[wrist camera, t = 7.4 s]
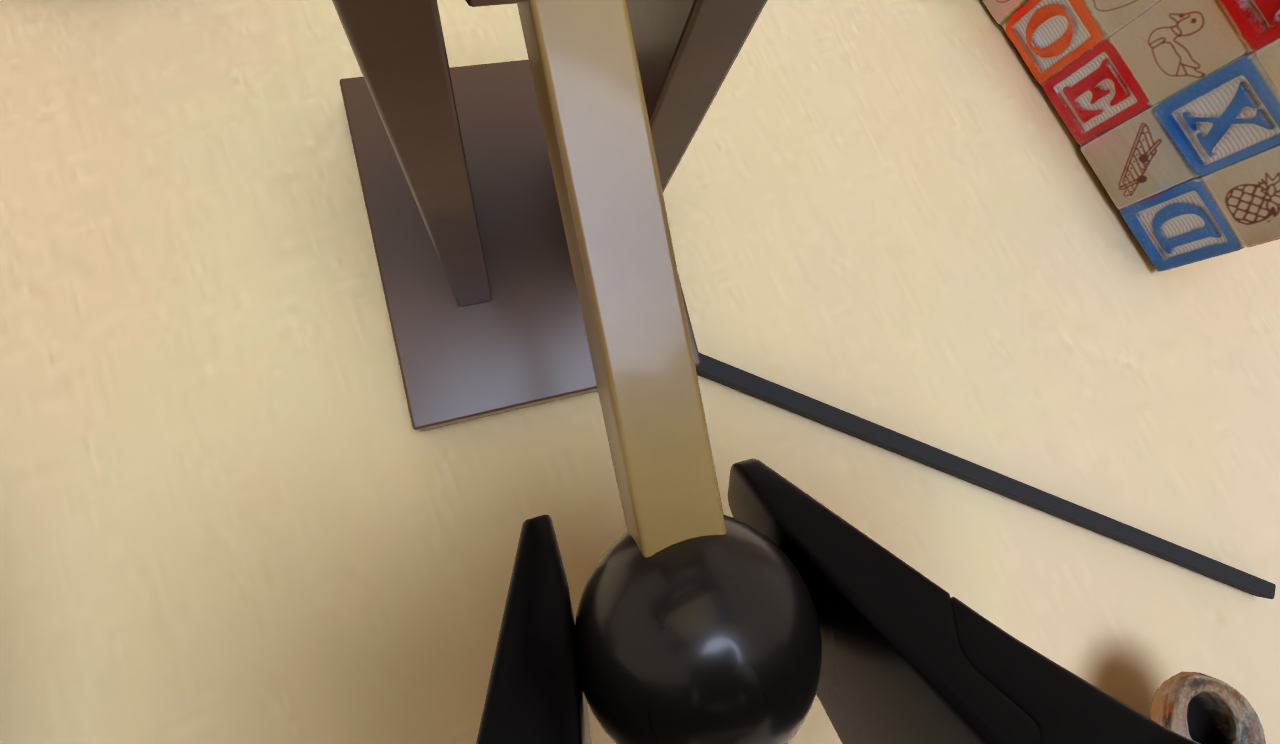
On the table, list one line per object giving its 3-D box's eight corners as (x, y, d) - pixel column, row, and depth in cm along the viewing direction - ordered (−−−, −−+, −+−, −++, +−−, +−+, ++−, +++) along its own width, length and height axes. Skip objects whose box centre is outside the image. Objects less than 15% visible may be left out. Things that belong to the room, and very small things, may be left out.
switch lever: (771, 646, 10) (896, 787, 7) (584, 712, 9) (630, 901, 6) (616, -198, 9) (686, -496, 5) (381, -195, 8) (308, -536, 5)
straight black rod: (1258, 581, 24) (1277, 584, 23) (1256, 596, 24) (1275, 600, 23) (689, 353, 21) (694, 350, 20) (684, 369, 20) (689, 367, 20)
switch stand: (691, 369, 21) (1151, 139, 6) (419, 431, 19) (2, 335, 4) (615, 71, 22) (834, -810, 7) (349, 100, 20) (-213, -1061, 5)
